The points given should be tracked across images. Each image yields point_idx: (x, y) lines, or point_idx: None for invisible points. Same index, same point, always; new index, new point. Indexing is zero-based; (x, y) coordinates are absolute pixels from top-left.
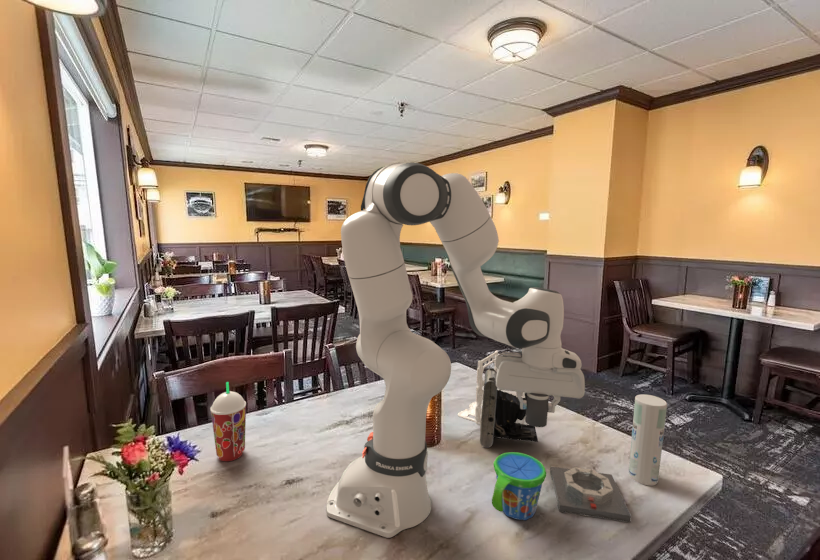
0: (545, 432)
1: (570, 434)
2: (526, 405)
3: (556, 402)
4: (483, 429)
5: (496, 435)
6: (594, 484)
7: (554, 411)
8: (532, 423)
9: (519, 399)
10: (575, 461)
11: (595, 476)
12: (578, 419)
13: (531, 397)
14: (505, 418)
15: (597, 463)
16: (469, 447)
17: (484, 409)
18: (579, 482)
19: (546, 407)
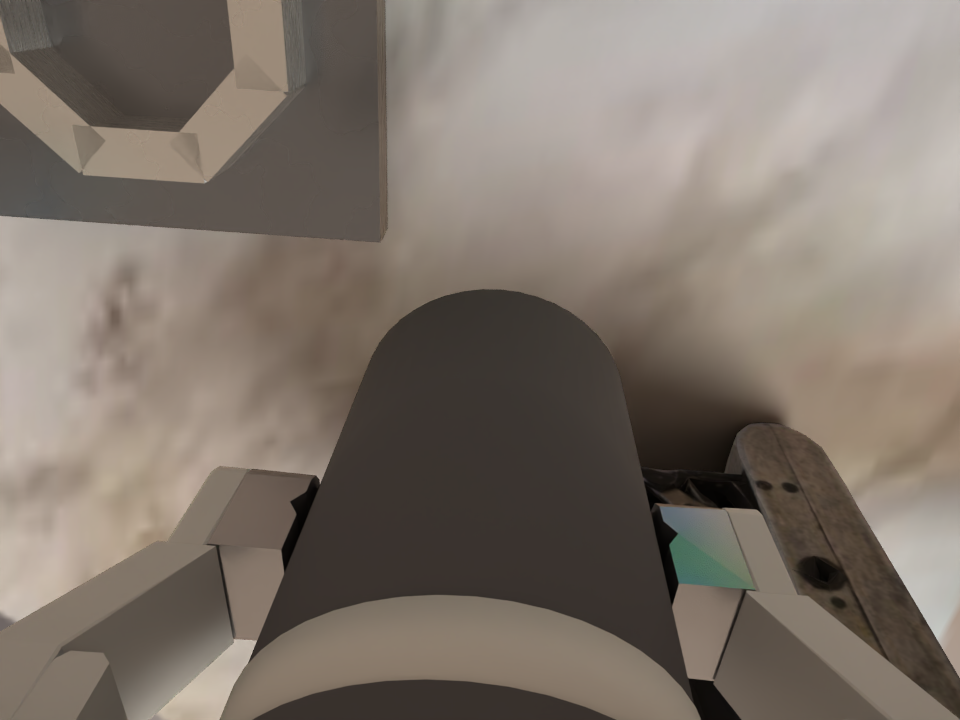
0: None
1: None
2: (678, 551)
3: (96, 601)
4: (840, 509)
5: (718, 489)
6: (94, 73)
7: (208, 477)
8: (561, 322)
9: (858, 648)
10: (219, 361)
11: (59, 94)
12: (182, 713)
13: (654, 671)
14: None
15: (93, 360)
16: (881, 413)
17: (924, 650)
18: (196, 77)
19: (324, 502)
